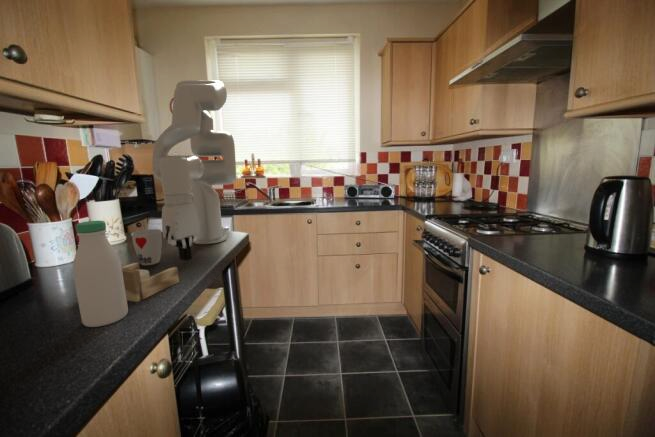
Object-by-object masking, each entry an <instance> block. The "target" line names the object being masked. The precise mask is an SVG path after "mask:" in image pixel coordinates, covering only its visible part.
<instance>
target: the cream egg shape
mask: <svg viewBox="0 0 655 437" xmlns="http://www.w3.org/2000/svg"><path fill="white" fill-rule="evenodd" d="M139 273H140V280H143V279H145V278H148V277H150V276H151V275H150V271H149V270H148V269H140V270H139Z"/></svg>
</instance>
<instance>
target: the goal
mask: <svg viewBox="0 0 655 437" xmlns="http://www.w3.org/2000/svg"><path fill="white" fill-rule="evenodd" d="M121 268H122V273H123V279H124V286H125V292H126V299H127V302H128V301H129V302H135V303H139V302H141V301H143V300H145V299H148V297H151V296H153V295H155V294H157V293H159V292H162V291H164V290H166V289H167V288H169V287H172V286H174V285H176V284H178V283H180V279H179V270H178V266H171V267H169V268H168V269H165V270H163V271H160V272H158V273H155V274H153V275H149V276H150V277H148V278H145V279H143V280H140V273H139V270H141V267H140V262H133V263H130V264H127V265H123V266H121Z"/></svg>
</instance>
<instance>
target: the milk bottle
mask: <svg viewBox="0 0 655 437" xmlns="http://www.w3.org/2000/svg"><path fill="white" fill-rule="evenodd" d="M75 230H76V235H77V237H78V239H79V241H78V247H77V249H76V252H75V255H74V258H73V264H72V272H73V280H74V286H75V290H76V292H75V293H76V296H77V302H78V308H79V312H80V313H79V314H80V318H81V319H80V320H81V322H82V324H83V325H84V326H85V327H88V328H98V327H103V326H104V327H105V326H108V325H112V324H114V323H116V322H119V321H120V320H122V319H123V318H125V317H126V316H127V315H128V312H129V307H128V300H127V299H126V292H125V286H124V279H123V273H122V268H121V267H122V262H121V260H120V257H119V254H118V252H117V250H115V248H114V247H113V245H112V244H111V243H110V242H109V240H108V237H107V234H106V233H107V225H106V221H104V220H88V221H81V222H78V223H76V224H75Z"/></svg>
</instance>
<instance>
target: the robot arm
mask: <svg viewBox="0 0 655 437" xmlns="http://www.w3.org/2000/svg"><path fill="white" fill-rule="evenodd" d="M224 84H225V83H224V82H222V81H220V80H214V79H213V80H211V79H209V80H208V79H207V80H206V79H203V80H201V79H189V80H188V79H187V80H182V81H179V82H177V84H176V86H175V89H174V91H173V92H174V93H173V103H172V114H171V115H172V116H171V124H170V125H169V126H168V127H167V128H166V129H164V131H162V133H161V134H160V135H158V136H159V137H158V138H157V139H156V140H155V142H154V145H153V150H152V159H151V162H152V163H151V164H152V165H151V167H152V172H153V175H154V176H155V178H157V179H158V180H160V181H161V185H162V194H163V202H164V205H163V206H162V209H161V232H162V238H163V239H164V240H167V245H168V246H175V247H176V248H177V249H178V256H179V260H180V261H186V262H187V261H190V260H192V259H193V256H192V248H191V247H192V245H193V243H194V244H197V245H211V244H218V243H222V242H225V241H226V240H227V238H228V236H227V235H226V234H224V233H225V232H229V230H230V228H229V227H228V226H224V227H223V224H222V214H221V213H222V212H221V201H220V196H219V193H218V191H216V190H215V189H214V187H213V186H220V185H221V186H222V185H223V186H224V185H225V186H226V185H232V184H234V183H235V182H236V180H237V166H236V165H237V164H236V163H237V161H236V148H235V140H234V137H233V135H232V134H231V133H230V132H228V131H223V130H218V131H217V130H214V119H213V117H212V115H211V114H210V113H209V111H210V112H211V111H213V112H214V111H215V112H216V111H219V110H221V108H223V106H224V105H225V104H226V102H227V97H228V96H227V95H228V92H227V88H226V86H225V85H224ZM187 140H190V149H191V150H190V151H191V153H192V155H168V154H169V152H170V150H172V149H173V148H175V146H176V145H178V144H180V143H182V142H185V141H187ZM201 157H202V158H203V157H204V158H217V157H218V158H219V157H220V158H222V159H201Z"/></svg>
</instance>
